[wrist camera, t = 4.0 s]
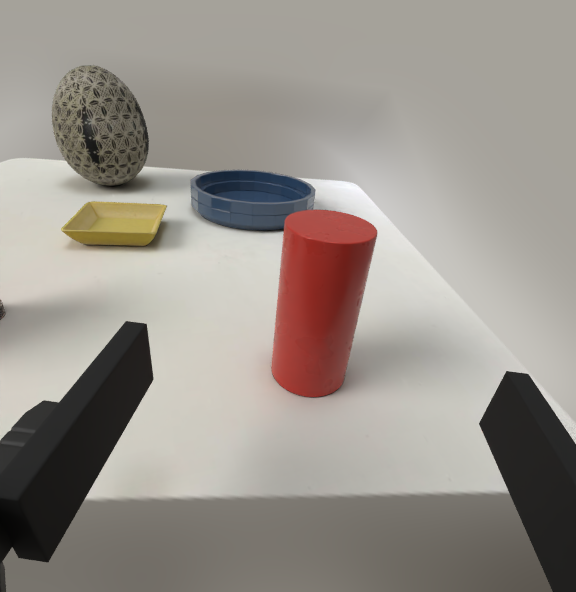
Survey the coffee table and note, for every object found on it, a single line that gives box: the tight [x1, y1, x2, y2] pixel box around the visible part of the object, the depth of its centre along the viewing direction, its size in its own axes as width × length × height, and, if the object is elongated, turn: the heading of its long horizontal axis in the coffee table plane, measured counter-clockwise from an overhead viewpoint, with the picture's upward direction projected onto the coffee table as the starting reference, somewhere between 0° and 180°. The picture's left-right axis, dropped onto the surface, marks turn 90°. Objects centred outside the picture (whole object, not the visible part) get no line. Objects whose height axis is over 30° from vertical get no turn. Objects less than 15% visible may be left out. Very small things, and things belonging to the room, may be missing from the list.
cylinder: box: [271, 210, 377, 397], centre depth 22 cm, size 5×5×10 cm
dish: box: [191, 170, 315, 230], centre depth 50 cm, size 16×16×4 cm
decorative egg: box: [52, 66, 149, 185], centre depth 51 cm, size 12×12×15 cm
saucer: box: [61, 202, 167, 246], centre depth 40 cm, size 9×9×2 cm
